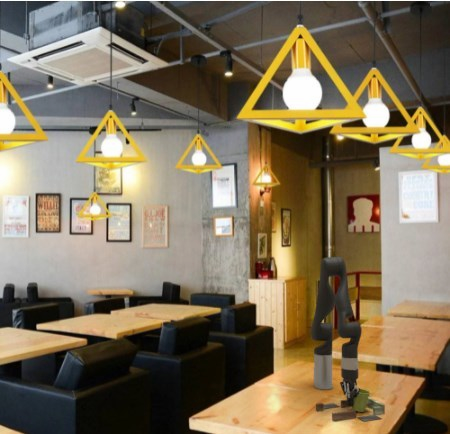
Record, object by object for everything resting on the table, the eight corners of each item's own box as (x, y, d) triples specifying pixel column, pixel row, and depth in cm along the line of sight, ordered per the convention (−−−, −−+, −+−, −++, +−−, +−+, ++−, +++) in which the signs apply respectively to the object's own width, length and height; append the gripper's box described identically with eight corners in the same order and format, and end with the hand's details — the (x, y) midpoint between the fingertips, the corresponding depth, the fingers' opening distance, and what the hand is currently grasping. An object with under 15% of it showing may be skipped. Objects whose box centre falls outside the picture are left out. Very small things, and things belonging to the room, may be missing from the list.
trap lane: (310, 406, 240) (310, 398, 240) (357, 400, 249) (357, 391, 249) (340, 425, 216) (340, 415, 217) (392, 417, 226) (392, 408, 226)
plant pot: (343, 406, 237) (345, 387, 237) (360, 407, 240) (362, 387, 241) (355, 413, 228) (357, 393, 229) (373, 413, 231) (374, 393, 232)
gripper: (334, 364, 238) (334, 402, 238) (351, 371, 226) (351, 411, 225) (348, 363, 241) (348, 401, 240) (365, 369, 229) (366, 409, 228)
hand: (350, 406), depth 233 cm, fingers closed
